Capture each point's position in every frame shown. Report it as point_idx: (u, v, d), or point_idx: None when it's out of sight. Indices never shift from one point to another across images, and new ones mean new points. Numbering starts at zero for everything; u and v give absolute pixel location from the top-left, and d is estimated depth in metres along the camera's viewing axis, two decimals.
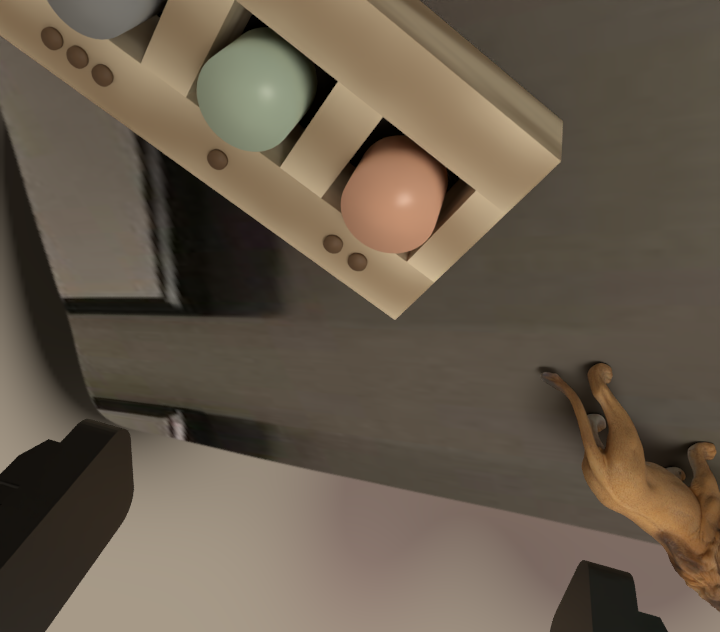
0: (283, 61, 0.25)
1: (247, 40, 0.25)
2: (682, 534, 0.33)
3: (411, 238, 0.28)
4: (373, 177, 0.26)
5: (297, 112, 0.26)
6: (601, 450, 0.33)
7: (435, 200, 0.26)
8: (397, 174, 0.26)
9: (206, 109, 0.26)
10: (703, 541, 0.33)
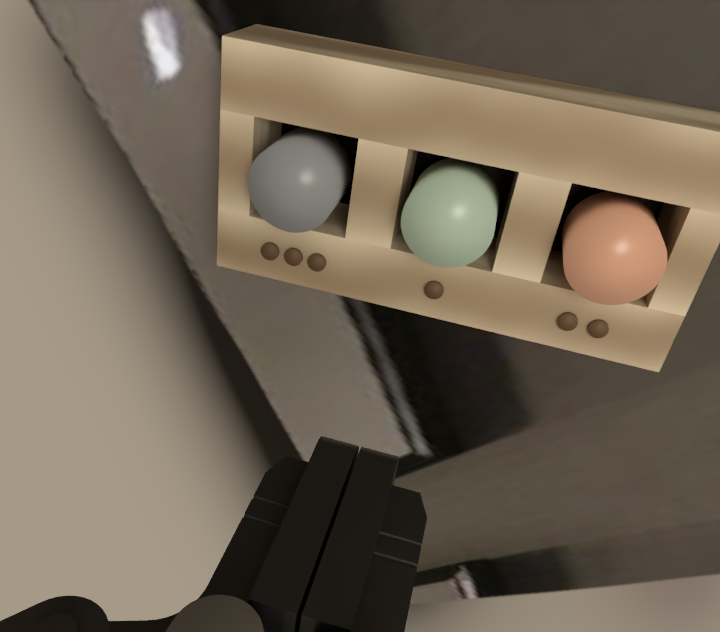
0: (467, 176, 0.28)
1: (429, 175, 0.29)
2: None
3: (648, 277, 0.27)
4: (588, 236, 0.27)
5: (495, 212, 0.28)
6: None
7: (657, 231, 0.26)
8: (610, 223, 0.27)
9: (415, 246, 0.29)
10: None
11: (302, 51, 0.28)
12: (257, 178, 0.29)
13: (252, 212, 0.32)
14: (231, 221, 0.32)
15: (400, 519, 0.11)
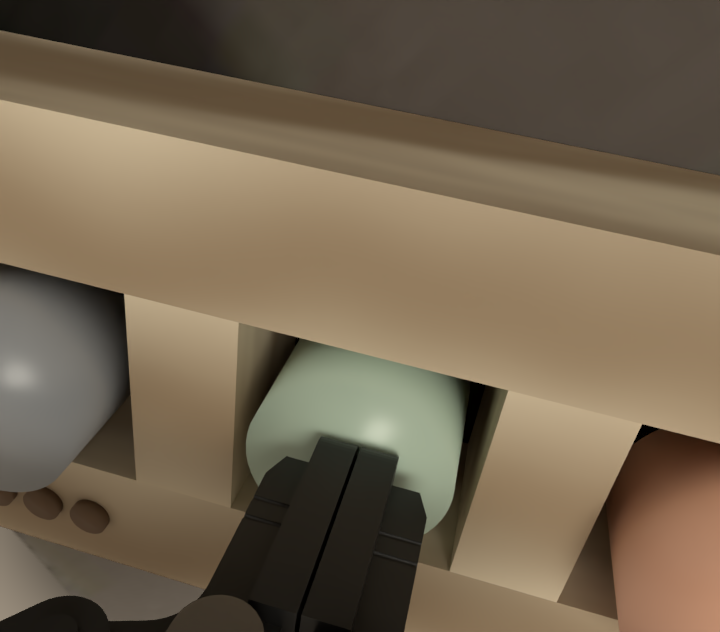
0: (391, 365, 0.12)
1: (309, 352, 0.13)
2: None
3: None
4: (688, 578, 0.10)
5: (455, 447, 0.12)
6: None
7: None
8: None
9: None
10: None
11: None
12: None
13: None
14: None
15: (400, 519, 0.11)
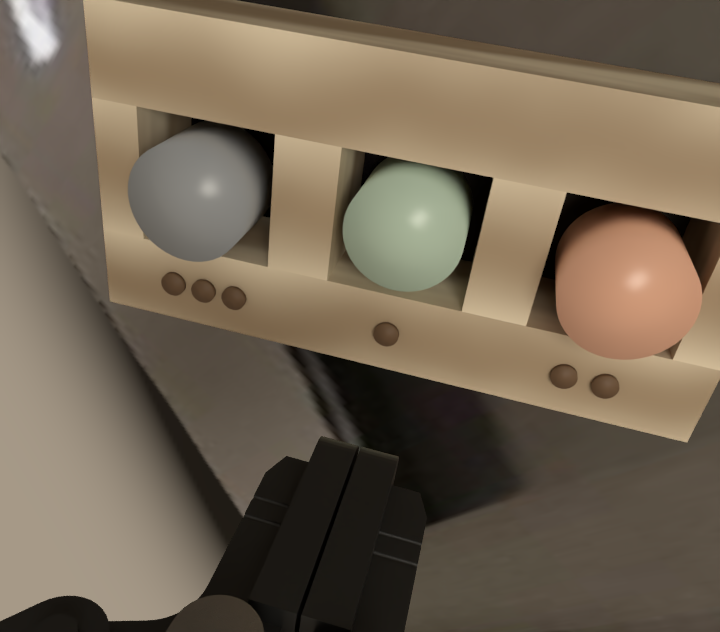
0: (427, 172, 0.21)
1: (379, 171, 0.22)
2: None
3: (675, 324, 0.20)
4: (589, 267, 0.19)
5: (464, 219, 0.21)
6: None
7: (688, 260, 0.19)
8: (620, 249, 0.19)
9: (363, 264, 0.22)
10: None
11: (191, 14, 0.20)
12: (139, 189, 0.22)
13: None
14: (122, 245, 0.25)
15: (400, 519, 0.11)
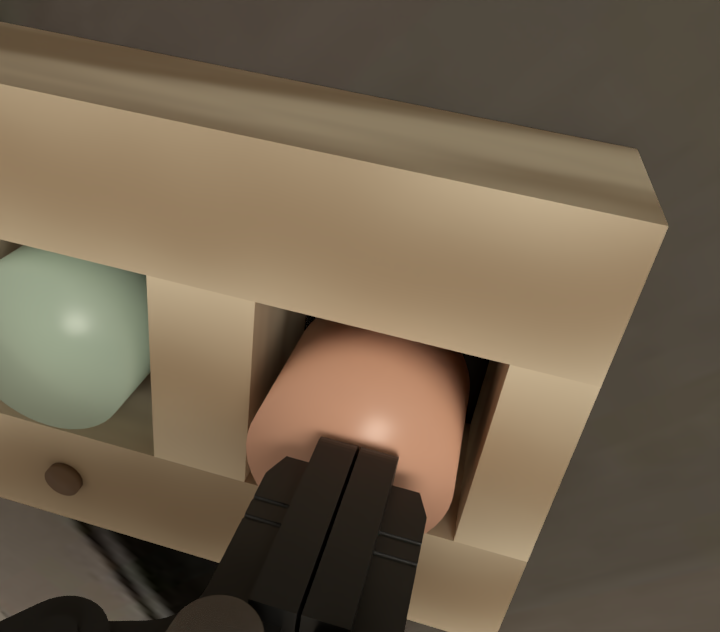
0: (68, 258, 0.14)
1: (11, 252, 0.14)
2: None
3: None
4: (282, 419, 0.12)
5: (127, 332, 0.14)
6: None
7: (425, 416, 0.12)
8: (320, 396, 0.12)
9: None
10: None
11: None
12: None
13: None
14: None
15: (400, 519, 0.11)
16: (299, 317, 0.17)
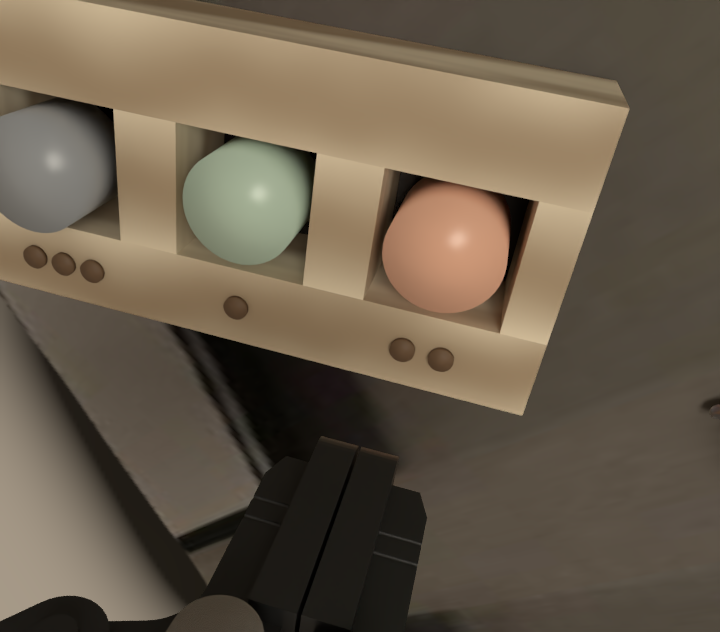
0: (260, 148, 0.22)
1: (219, 147, 0.23)
2: None
3: (487, 278, 0.21)
4: (407, 225, 0.21)
5: (296, 194, 0.22)
6: None
7: (491, 218, 0.20)
8: (431, 208, 0.21)
9: (205, 237, 0.23)
10: None
11: None
12: None
13: None
14: None
15: (400, 519, 0.11)
16: (393, 201, 0.25)
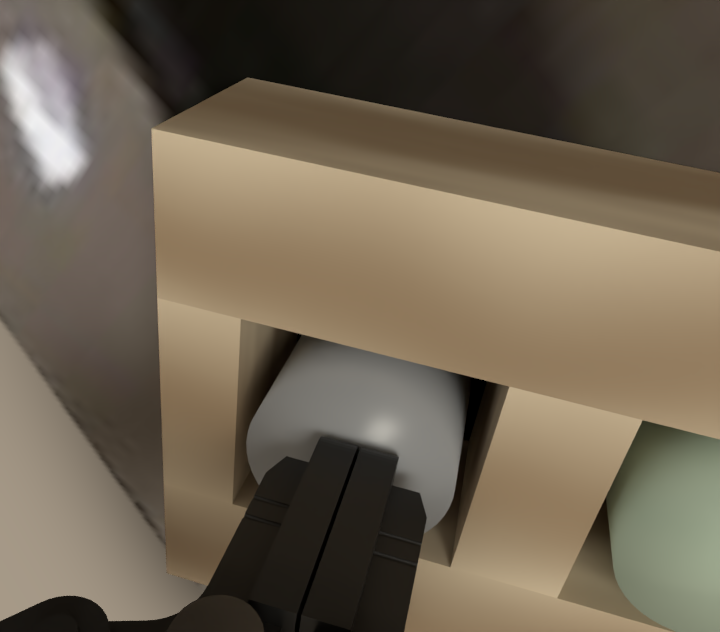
0: None
1: (686, 441, 0.12)
2: None
3: None
4: None
5: None
6: None
7: None
8: None
9: (641, 595, 0.12)
10: None
11: (372, 176, 0.10)
12: (268, 439, 0.12)
13: (239, 488, 0.15)
14: (193, 508, 0.15)
15: (400, 520, 0.11)
16: None
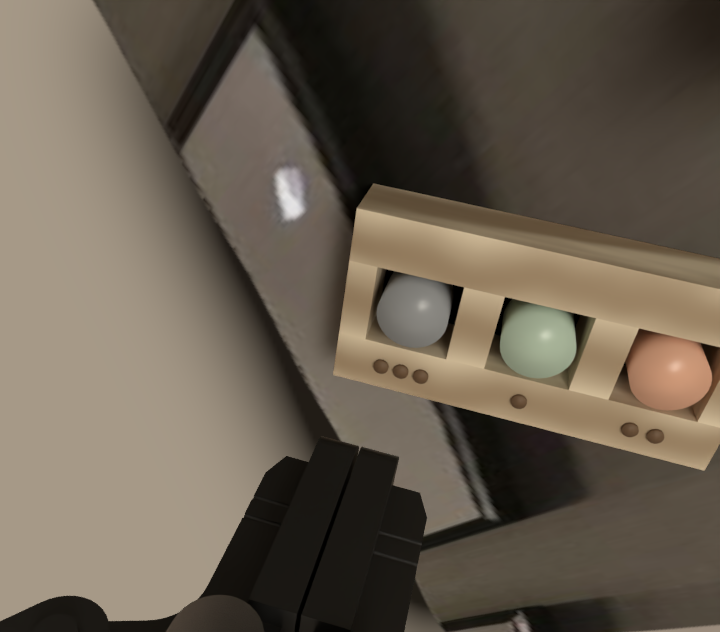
0: (554, 310, 0.36)
1: (523, 307, 0.36)
2: None
3: (696, 392, 0.35)
4: (650, 361, 0.35)
5: (575, 339, 0.36)
6: None
7: (704, 359, 0.34)
8: (667, 352, 0.34)
9: (510, 361, 0.37)
10: None
11: (422, 222, 0.34)
12: (385, 307, 0.37)
13: (367, 334, 0.39)
14: (349, 342, 0.39)
15: (399, 519, 0.11)
16: None
